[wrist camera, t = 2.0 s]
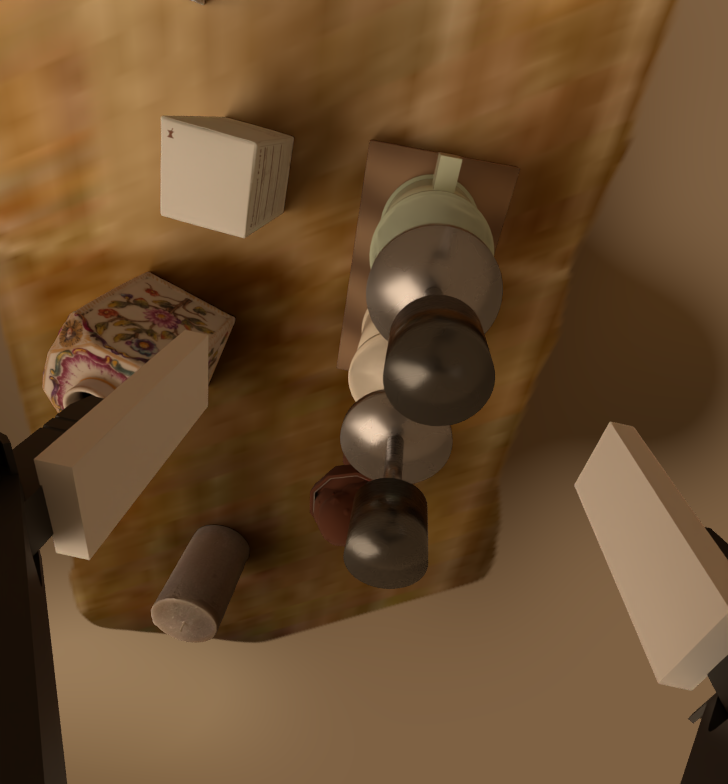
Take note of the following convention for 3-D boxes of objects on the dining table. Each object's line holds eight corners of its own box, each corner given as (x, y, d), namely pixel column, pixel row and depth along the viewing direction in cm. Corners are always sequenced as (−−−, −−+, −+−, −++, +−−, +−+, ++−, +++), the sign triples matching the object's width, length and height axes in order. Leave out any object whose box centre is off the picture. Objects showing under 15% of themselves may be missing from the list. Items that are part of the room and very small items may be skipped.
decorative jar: (123, 346, 58) (15, 426, 43) (145, 267, 53) (30, 327, 37) (210, 390, 60) (136, 482, 45) (240, 318, 55) (168, 395, 39)
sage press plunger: (478, 362, 30) (505, 475, 20) (358, 338, 30) (327, 440, 20) (519, 237, 26) (577, 304, 16) (379, 210, 26) (354, 261, 16)
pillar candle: (260, 560, 76) (227, 647, 63) (211, 569, 79) (169, 655, 66) (232, 518, 72) (190, 603, 59) (181, 529, 75) (130, 613, 62)
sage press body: (463, 283, 48) (474, 327, 37) (373, 266, 48) (359, 305, 37) (498, 160, 42) (522, 172, 31) (394, 141, 42) (385, 146, 32)
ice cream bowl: (323, 484, 66) (298, 571, 53) (326, 420, 61) (299, 500, 48) (396, 494, 66) (389, 584, 53) (405, 431, 60) (401, 514, 47)
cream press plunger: (350, 378, 31) (318, 489, 22) (464, 400, 31) (483, 522, 22) (335, 466, 36) (303, 593, 26) (436, 486, 35) (442, 621, 26)
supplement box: (216, 195, 48) (155, 215, 37) (223, 114, 44) (157, 111, 33) (285, 215, 48) (244, 241, 37) (297, 136, 44) (256, 140, 33)
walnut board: (371, 139, 44) (369, 140, 42) (516, 167, 43) (520, 168, 42) (338, 361, 56) (336, 368, 54) (451, 383, 56) (452, 390, 54)
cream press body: (369, 279, 48) (355, 320, 38) (459, 296, 48) (469, 342, 38) (353, 373, 54) (337, 432, 44) (433, 389, 54) (435, 451, 44)
